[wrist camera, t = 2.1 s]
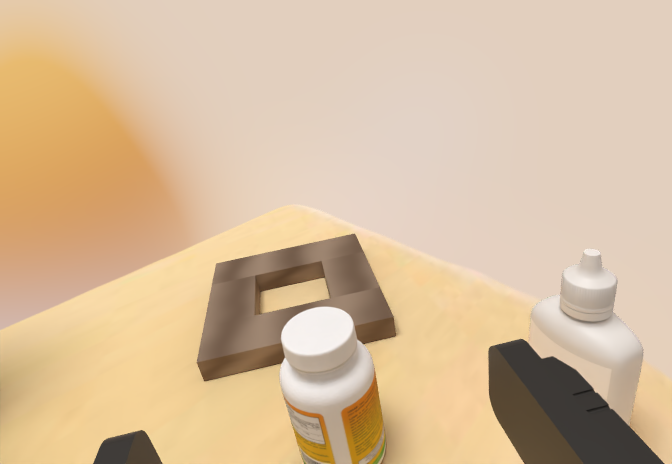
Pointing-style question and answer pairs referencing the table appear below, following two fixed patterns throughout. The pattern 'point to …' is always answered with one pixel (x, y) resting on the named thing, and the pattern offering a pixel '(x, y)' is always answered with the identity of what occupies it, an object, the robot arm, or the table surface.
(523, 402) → the robot arm
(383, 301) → the socket plate
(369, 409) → the supplement bottle
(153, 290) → the table surface
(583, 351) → the eye dropper bottle
